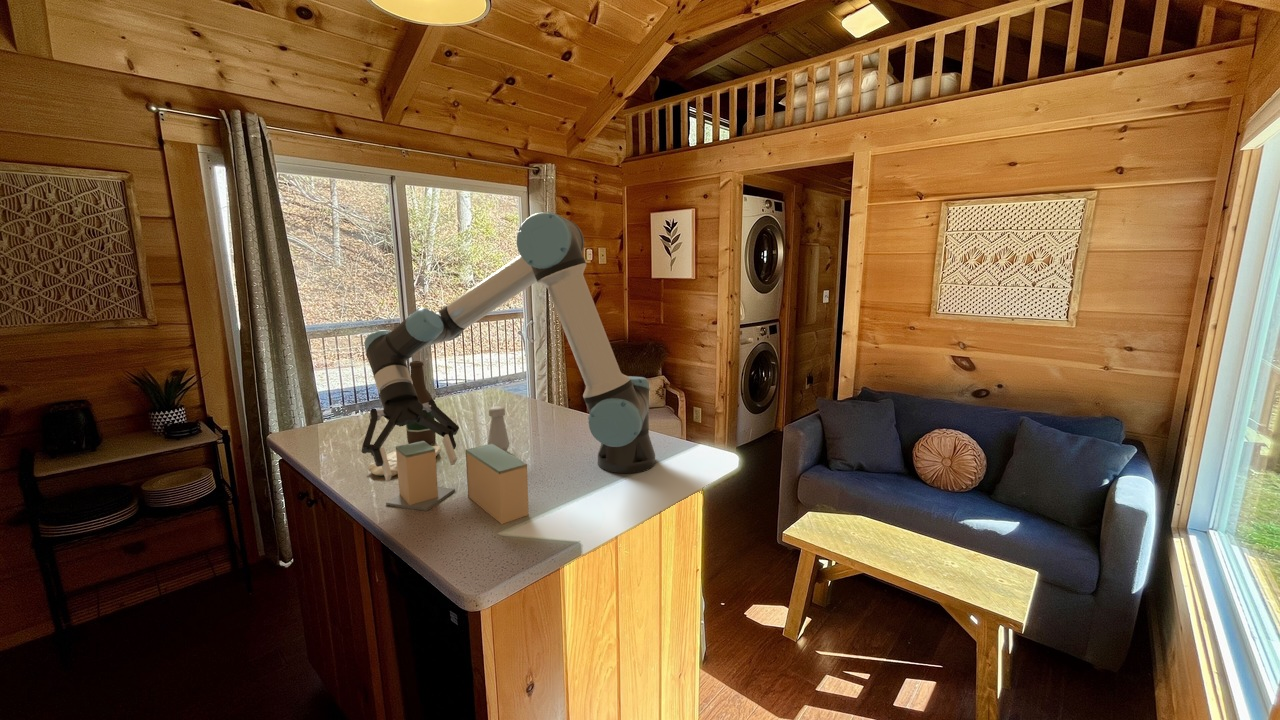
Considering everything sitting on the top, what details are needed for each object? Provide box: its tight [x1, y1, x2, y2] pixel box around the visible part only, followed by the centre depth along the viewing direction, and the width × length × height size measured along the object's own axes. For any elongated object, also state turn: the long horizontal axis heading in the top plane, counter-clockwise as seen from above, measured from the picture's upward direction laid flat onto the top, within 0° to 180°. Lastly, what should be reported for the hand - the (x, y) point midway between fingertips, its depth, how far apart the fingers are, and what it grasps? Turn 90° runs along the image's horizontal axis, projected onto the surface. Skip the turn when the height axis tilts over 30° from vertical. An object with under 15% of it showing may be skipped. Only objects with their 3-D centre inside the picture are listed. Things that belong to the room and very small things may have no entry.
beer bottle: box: [405, 360, 437, 445], centre depth 147 cm, size 8×8×24 cm
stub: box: [395, 441, 439, 505], centre depth 112 cm, size 7×6×11 cm
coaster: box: [385, 486, 456, 512], centre depth 113 cm, size 10×10×1 cm
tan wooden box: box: [465, 443, 530, 525], centre depth 109 cm, size 16×6×11 cm, turn 41°
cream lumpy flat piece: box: [367, 445, 442, 477], centre depth 132 cm, size 4×13×20 cm
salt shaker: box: [487, 405, 510, 453], centre depth 140 cm, size 6×6×13 cm
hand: (422, 469), depth 110 cm, fingers open, 13 cm apart
